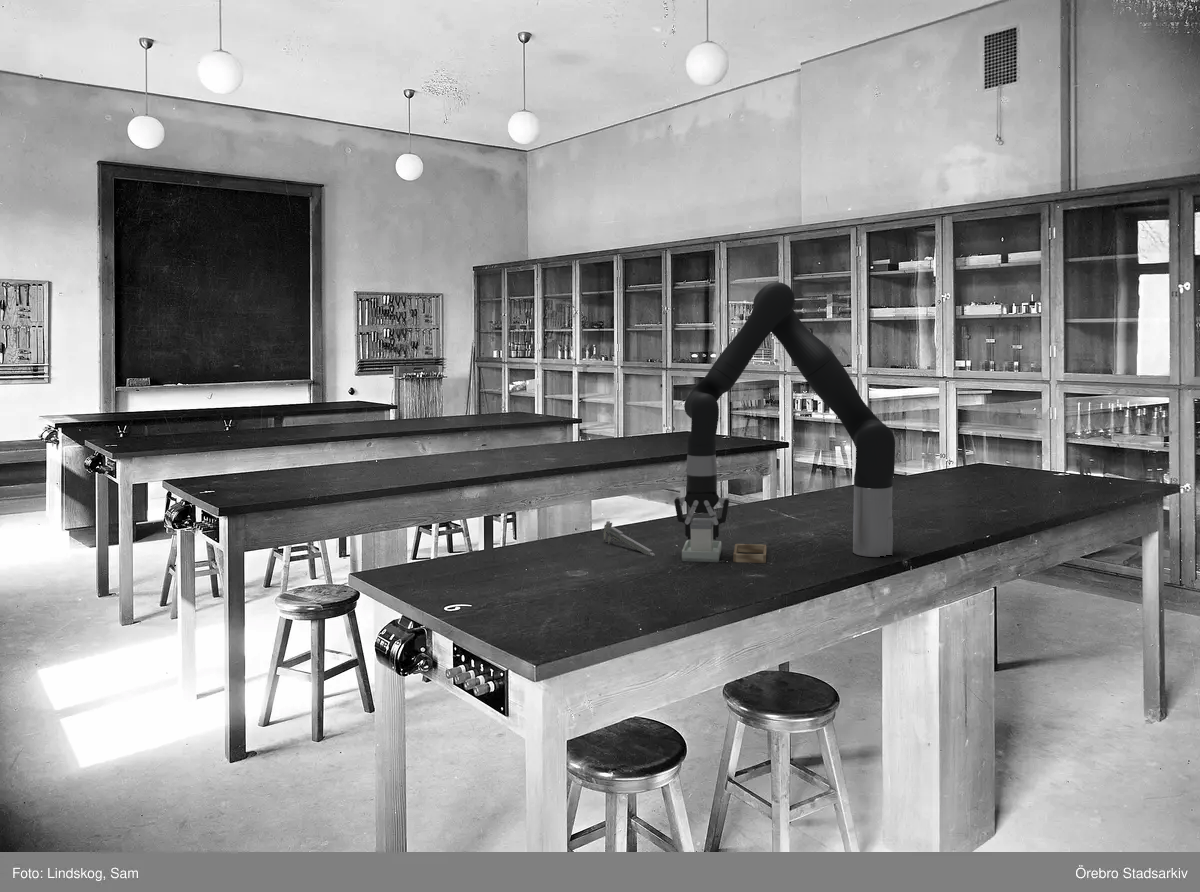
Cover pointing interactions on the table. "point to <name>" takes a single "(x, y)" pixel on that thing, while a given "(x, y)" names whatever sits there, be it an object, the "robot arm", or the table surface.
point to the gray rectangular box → (702, 534)
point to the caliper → (623, 539)
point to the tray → (701, 553)
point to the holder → (750, 557)
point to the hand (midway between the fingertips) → (702, 538)
